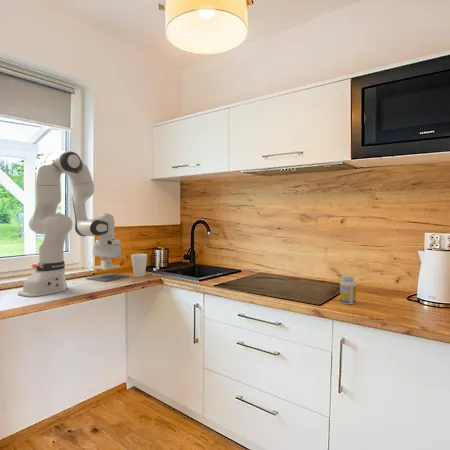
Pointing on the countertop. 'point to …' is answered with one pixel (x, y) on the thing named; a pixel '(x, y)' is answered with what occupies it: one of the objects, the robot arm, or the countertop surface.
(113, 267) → the lid
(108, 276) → the mat
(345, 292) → the pill bottle
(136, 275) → the foam cup
